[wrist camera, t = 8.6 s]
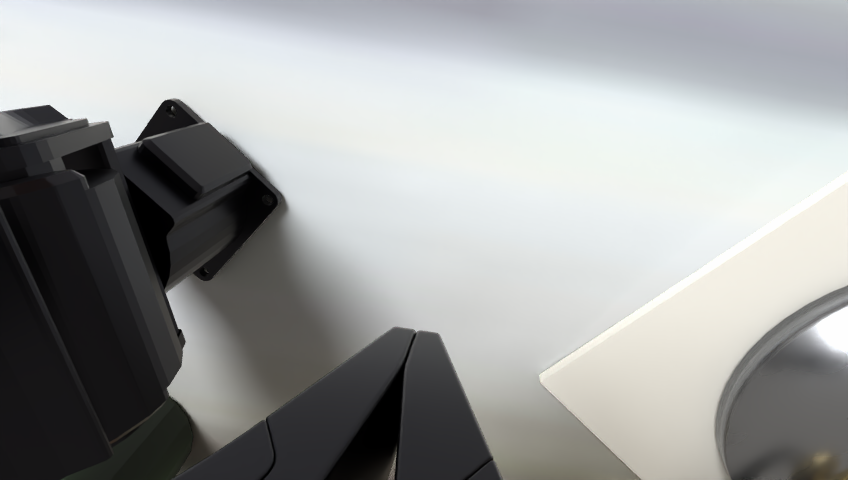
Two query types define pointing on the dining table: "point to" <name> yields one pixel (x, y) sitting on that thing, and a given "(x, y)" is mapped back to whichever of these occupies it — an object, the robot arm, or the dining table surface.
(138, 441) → the potion bottle
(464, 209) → the dining table surface
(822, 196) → the level stand
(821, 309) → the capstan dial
